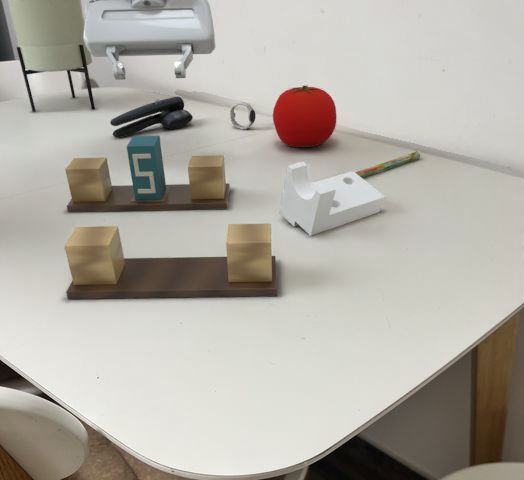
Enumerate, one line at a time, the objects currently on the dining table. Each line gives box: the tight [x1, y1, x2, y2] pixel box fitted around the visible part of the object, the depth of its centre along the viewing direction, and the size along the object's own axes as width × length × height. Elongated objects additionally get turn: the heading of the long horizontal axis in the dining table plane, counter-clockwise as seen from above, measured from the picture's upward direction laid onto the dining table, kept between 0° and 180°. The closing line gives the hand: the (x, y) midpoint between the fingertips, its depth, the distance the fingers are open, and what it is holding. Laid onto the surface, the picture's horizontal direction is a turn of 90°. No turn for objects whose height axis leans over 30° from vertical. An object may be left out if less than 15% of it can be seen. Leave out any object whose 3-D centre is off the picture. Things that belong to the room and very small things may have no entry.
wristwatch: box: [229, 101, 256, 130], centre depth 117 cm, size 3×5×5 cm, turn 64°
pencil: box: [354, 151, 421, 179], centre depth 96 cm, size 1×1×18 cm
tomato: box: [272, 84, 337, 148], centre depth 106 cm, size 12×12×10 cm
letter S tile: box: [126, 135, 167, 200], centre depth 85 cm, size 4×5×8 cm
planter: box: [6, 0, 96, 113], centre depth 130 cm, size 15×16×23 cm
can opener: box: [109, 95, 194, 138], centre depth 117 cm, size 18×7×6 cm, turn 127°
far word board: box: [64, 154, 231, 213], centre depth 87 cm, size 24×8×6 cm, turn 90°
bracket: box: [279, 161, 385, 237], centre depth 80 cm, size 13×7×8 cm, turn 125°
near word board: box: [63, 223, 277, 300], centre depth 67 cm, size 24×8×6 cm, turn 90°
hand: (149, 76), depth 88 cm, fingers open, 8 cm apart
